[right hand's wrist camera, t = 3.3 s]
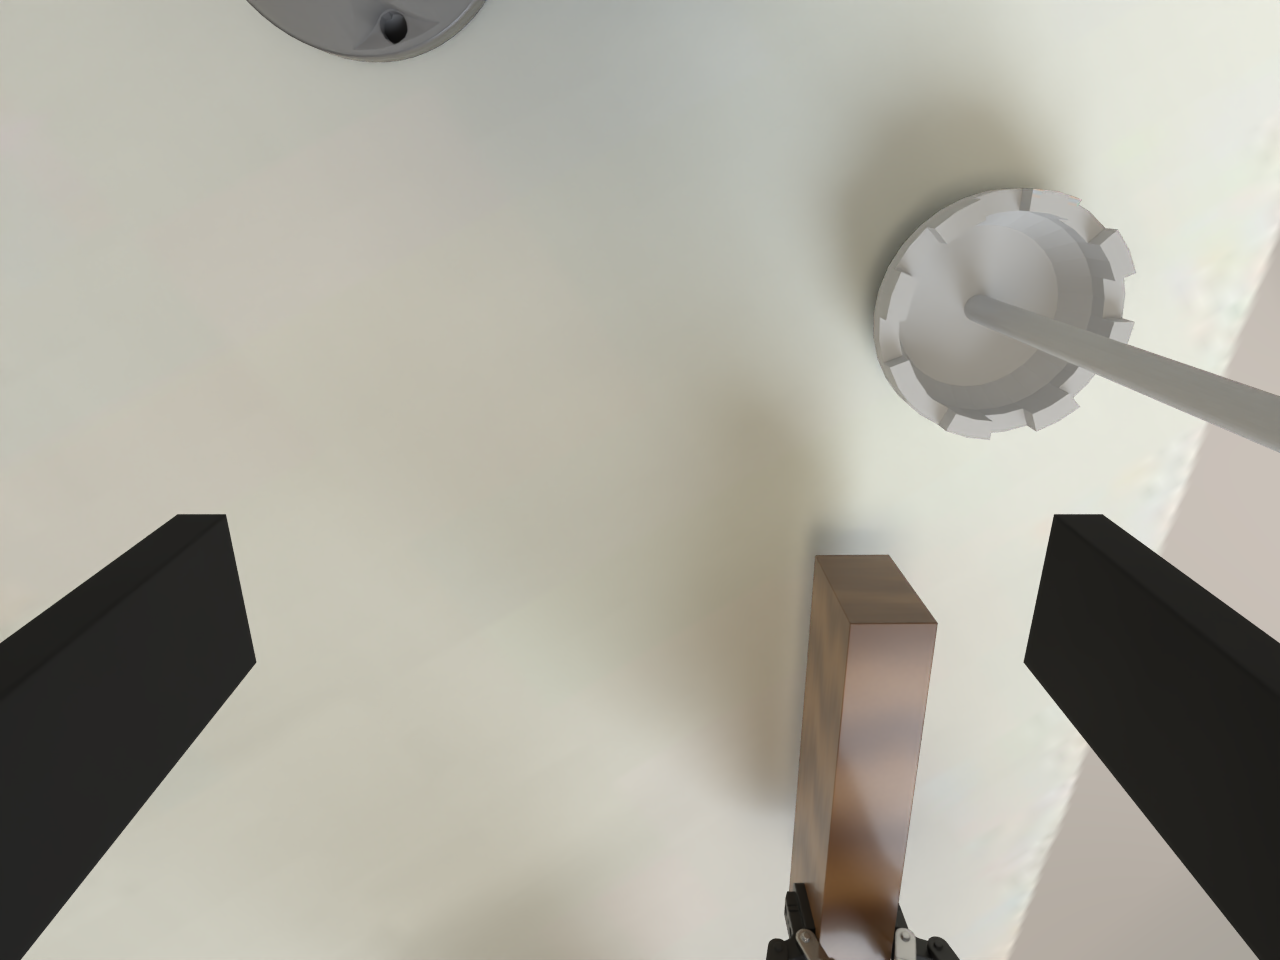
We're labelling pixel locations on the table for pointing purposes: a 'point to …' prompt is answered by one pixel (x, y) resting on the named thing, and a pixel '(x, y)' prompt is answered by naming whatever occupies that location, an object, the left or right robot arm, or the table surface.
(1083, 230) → the flag stand
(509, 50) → the table surface
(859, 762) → the bar
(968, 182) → the table surface
